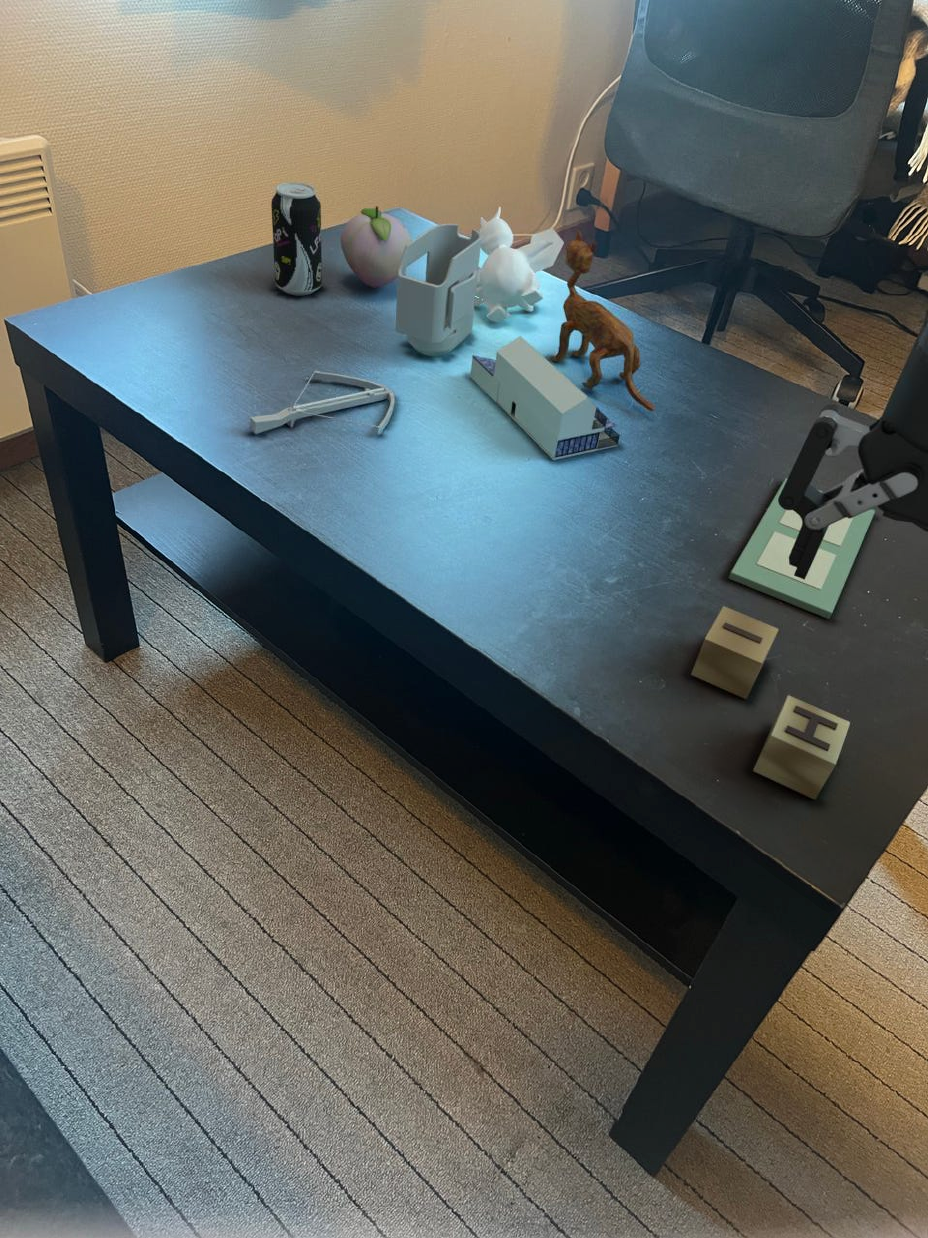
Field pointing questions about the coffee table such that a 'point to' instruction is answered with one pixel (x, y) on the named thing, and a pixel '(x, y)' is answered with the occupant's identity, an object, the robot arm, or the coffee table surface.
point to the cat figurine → (596, 326)
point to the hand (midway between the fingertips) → (871, 597)
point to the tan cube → (734, 652)
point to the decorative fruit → (374, 246)
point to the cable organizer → (438, 290)
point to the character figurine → (512, 268)
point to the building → (543, 401)
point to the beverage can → (297, 238)
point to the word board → (774, 576)
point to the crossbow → (328, 404)
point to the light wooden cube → (802, 747)
